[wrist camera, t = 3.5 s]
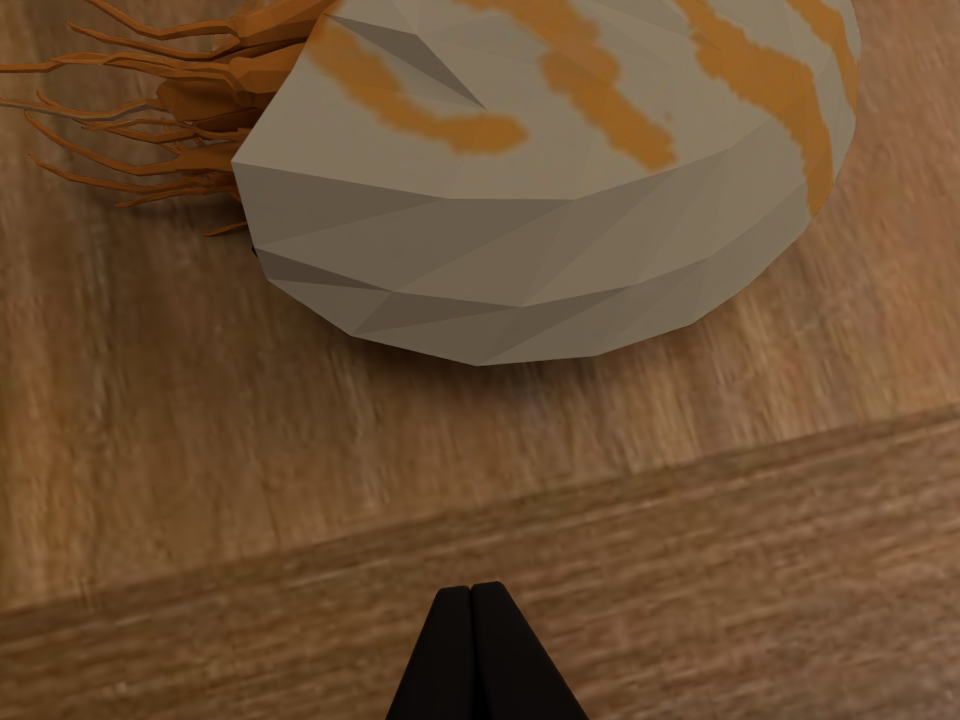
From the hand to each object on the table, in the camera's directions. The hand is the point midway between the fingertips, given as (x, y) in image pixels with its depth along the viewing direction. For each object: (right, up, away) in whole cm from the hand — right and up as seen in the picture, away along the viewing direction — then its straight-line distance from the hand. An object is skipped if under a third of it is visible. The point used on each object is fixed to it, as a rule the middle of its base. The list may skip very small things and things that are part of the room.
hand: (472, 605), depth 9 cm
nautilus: (-2, +9, +12) cm, 15 cm away
